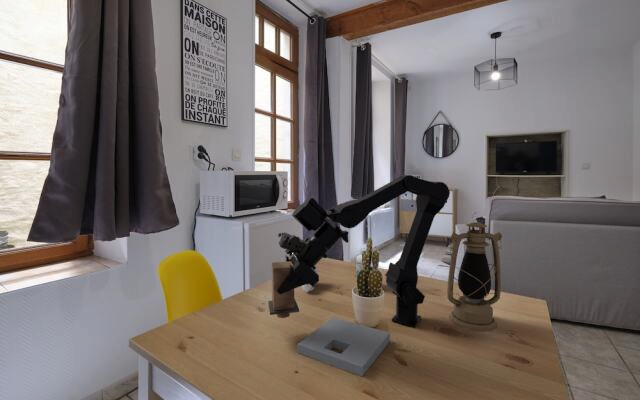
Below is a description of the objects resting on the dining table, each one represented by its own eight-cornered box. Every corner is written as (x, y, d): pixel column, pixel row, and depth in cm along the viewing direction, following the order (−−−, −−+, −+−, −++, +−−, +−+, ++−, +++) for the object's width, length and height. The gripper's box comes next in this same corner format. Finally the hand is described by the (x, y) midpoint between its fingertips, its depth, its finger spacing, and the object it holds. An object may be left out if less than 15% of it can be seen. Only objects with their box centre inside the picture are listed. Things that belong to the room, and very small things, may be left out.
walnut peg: (295, 308, 85) (294, 260, 84) (299, 319, 78) (298, 267, 77) (268, 310, 83) (267, 261, 82) (270, 323, 77) (269, 269, 75)
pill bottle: (376, 283, 118) (377, 247, 117) (378, 290, 110) (378, 252, 109) (355, 282, 119) (356, 246, 117) (356, 290, 111) (356, 251, 110)
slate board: (332, 324, 86) (332, 317, 86) (389, 341, 78) (390, 333, 78) (297, 352, 73) (297, 344, 73) (362, 376, 64) (362, 367, 64)
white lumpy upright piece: (317, 259, 118) (316, 272, 106) (318, 280, 120) (316, 296, 108) (300, 259, 118) (297, 272, 107) (301, 280, 120) (297, 296, 108)
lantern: (487, 310, 94) (491, 209, 92) (511, 330, 83) (518, 215, 80) (438, 311, 94) (441, 210, 91) (456, 331, 82) (460, 215, 80)
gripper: (292, 216, 89) (252, 258, 87) (304, 228, 70) (254, 281, 69) (320, 243, 91) (282, 284, 90) (338, 261, 73) (291, 312, 72)
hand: (277, 289), depth 80 cm, fingers closed on walnut peg, 5 cm apart
